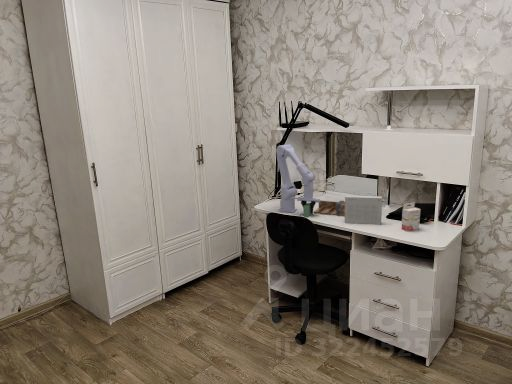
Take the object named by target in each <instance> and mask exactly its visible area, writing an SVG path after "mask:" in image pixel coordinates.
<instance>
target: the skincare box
mask: <svg viewBox="0 0 512 384" xmlns="http://www.w3.org/2000/svg"><path fill="white" fill-rule="evenodd" d="M344 202H345V216H344V223H346V224H365V225H367V224H368V225H381V224H382V215H383V214H382V211H383V210H382V209H383V208H382V206H383V196H377V195H376V196H375V195H345V196H344Z"/></svg>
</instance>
